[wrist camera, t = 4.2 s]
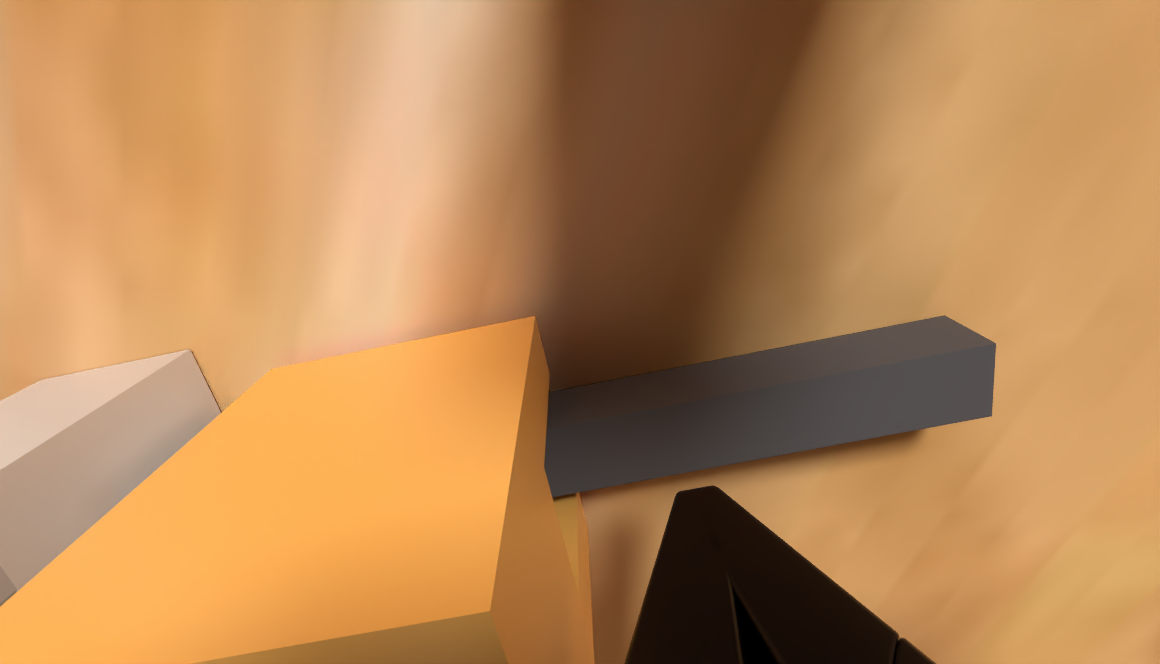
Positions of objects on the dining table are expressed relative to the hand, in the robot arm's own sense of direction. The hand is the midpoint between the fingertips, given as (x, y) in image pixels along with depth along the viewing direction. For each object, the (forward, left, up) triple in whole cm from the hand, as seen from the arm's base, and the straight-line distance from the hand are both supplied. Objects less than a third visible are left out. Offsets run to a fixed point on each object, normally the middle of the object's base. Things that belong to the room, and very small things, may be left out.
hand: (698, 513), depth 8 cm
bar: (+3, 0, -3) cm, 4 cm away
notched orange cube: (+5, 0, -3) cm, 6 cm away
